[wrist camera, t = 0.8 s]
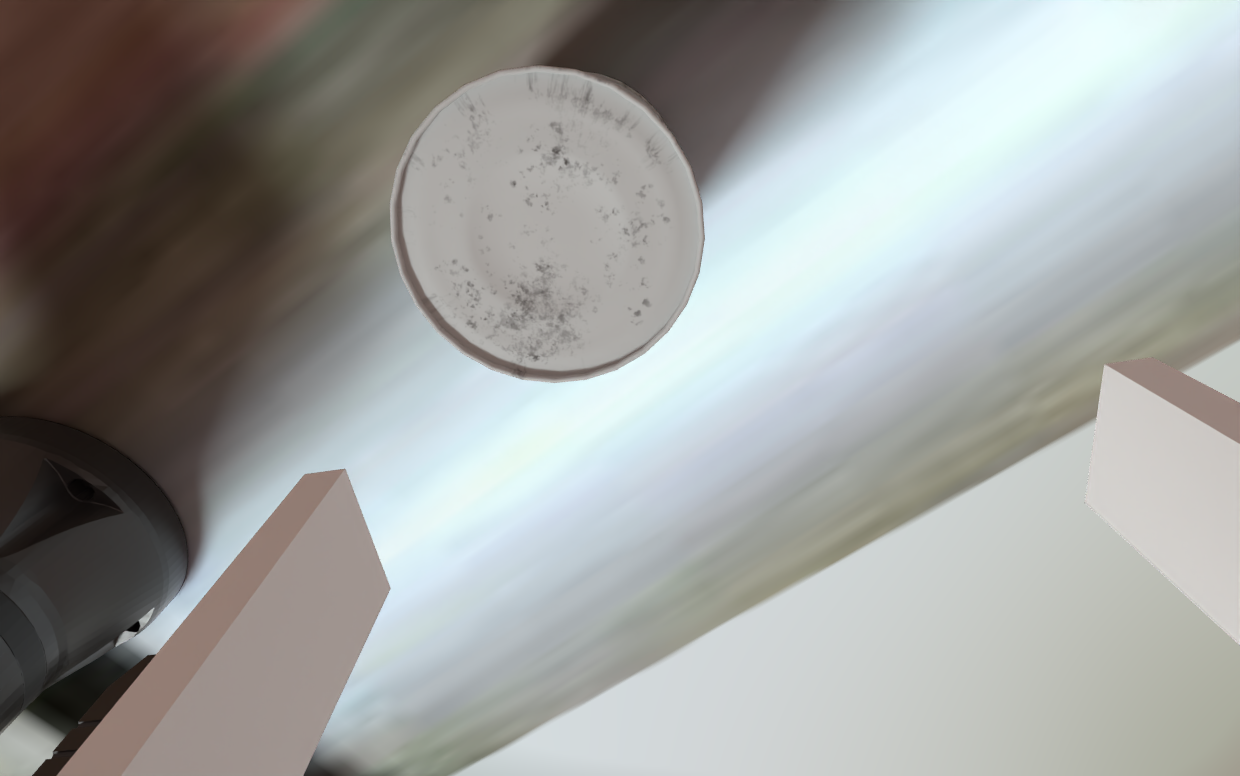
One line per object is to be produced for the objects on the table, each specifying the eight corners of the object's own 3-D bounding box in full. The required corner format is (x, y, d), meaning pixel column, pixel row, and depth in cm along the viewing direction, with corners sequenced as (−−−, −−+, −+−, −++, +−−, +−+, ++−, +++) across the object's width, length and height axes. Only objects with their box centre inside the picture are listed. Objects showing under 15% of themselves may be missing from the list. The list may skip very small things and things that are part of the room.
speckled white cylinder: (434, 167, 32) (322, 215, 20) (591, 20, 29) (561, -18, 18) (568, 320, 35) (535, 435, 23) (722, 199, 32) (767, 263, 21)
